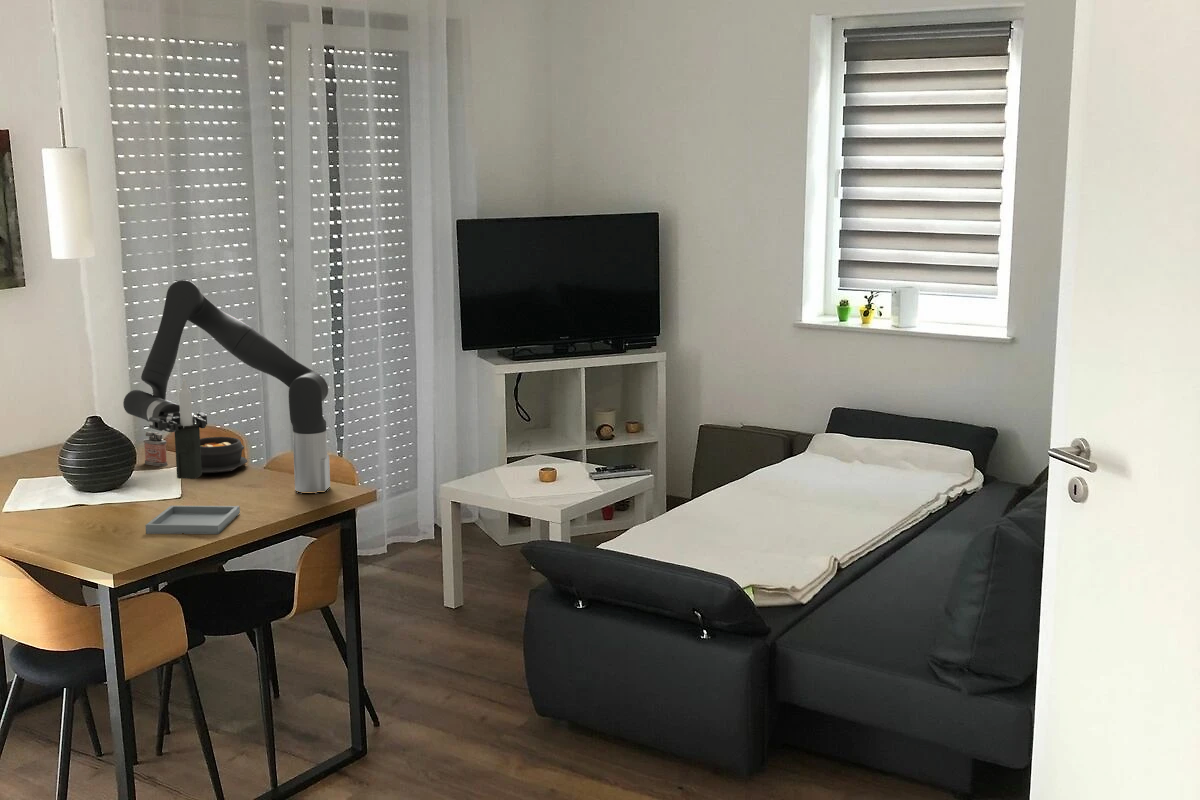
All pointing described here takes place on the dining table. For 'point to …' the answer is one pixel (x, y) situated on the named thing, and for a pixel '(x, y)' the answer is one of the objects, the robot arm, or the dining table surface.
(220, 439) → the casserole
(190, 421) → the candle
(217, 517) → the tray
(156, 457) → the lighter
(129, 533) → the dining table surface
